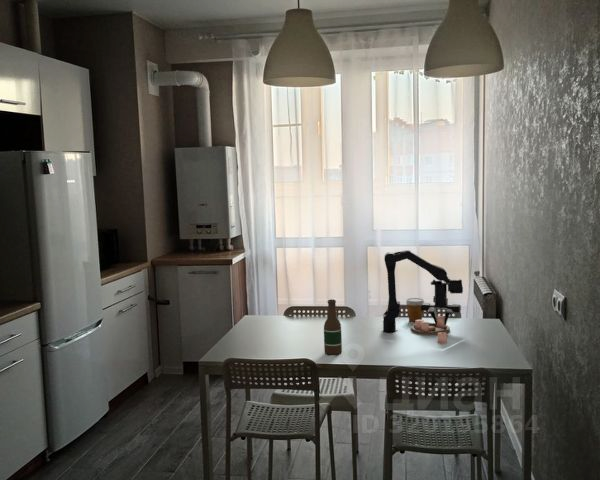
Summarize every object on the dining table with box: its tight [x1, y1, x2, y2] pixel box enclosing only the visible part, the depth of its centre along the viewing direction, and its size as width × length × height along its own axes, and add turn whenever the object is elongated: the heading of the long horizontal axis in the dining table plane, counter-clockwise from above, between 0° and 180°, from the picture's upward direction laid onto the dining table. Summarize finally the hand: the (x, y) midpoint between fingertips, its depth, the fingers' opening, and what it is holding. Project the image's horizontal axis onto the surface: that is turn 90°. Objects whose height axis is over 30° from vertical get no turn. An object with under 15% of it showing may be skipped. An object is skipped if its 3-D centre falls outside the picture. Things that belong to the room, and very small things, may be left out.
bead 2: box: [437, 332, 448, 345], centre depth 275 cm, size 4×4×5 cm
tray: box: [410, 322, 451, 337], centre depth 297 cm, size 18×18×2 cm
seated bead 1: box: [414, 319, 425, 331], centre depth 298 cm, size 4×4×5 cm
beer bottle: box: [323, 298, 343, 356], centre depth 266 cm, size 8×8×24 cm
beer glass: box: [405, 297, 425, 323], centre depth 317 cm, size 10×10×12 cm
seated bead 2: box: [421, 321, 430, 331], centre depth 293 cm, size 4×4×5 cm
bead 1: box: [436, 315, 445, 328], centre depth 295 cm, size 4×4×5 cm
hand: (440, 324), depth 295 cm, fingers closed on bead 1, 4 cm apart
